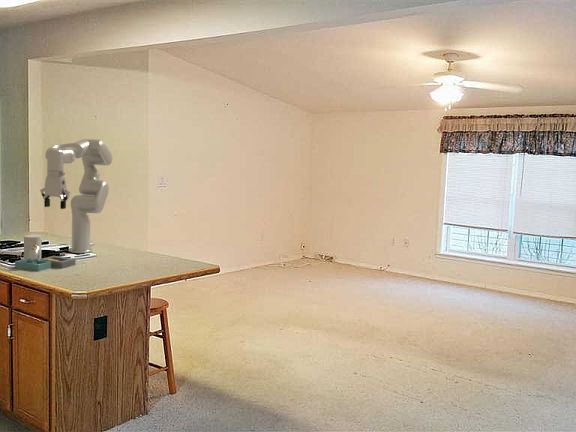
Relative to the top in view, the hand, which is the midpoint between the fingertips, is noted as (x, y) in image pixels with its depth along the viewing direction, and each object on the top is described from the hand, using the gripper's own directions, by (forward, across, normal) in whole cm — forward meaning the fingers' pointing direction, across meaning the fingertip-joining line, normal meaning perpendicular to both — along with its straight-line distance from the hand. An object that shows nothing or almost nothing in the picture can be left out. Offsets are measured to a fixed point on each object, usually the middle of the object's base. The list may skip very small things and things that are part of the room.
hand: (55, 207), depth 279 cm
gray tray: (+27, -7, +6) cm, 29 cm away
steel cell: (+27, -2, +17) cm, 32 cm away
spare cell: (+28, +5, +8) cm, 29 cm away
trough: (+27, -2, +17) cm, 32 cm away
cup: (+28, +12, +2) cm, 30 cm away
